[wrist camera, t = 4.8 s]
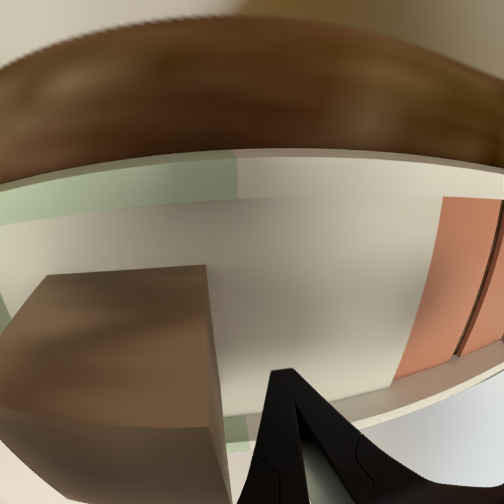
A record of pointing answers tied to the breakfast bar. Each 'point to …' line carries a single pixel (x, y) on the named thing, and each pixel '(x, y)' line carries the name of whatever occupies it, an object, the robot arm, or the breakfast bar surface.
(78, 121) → the breakfast bar surface
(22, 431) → the walnut block
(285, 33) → the breakfast bar surface
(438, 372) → the trap channel
